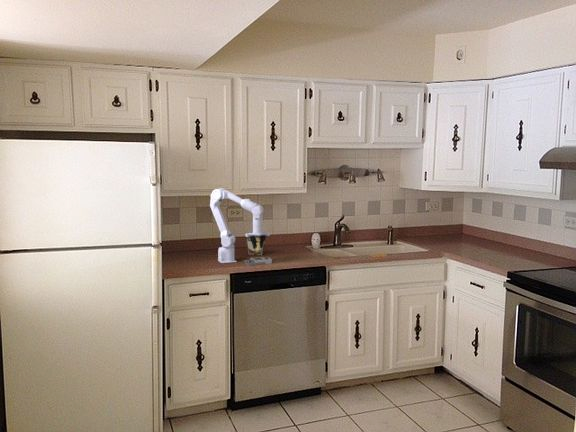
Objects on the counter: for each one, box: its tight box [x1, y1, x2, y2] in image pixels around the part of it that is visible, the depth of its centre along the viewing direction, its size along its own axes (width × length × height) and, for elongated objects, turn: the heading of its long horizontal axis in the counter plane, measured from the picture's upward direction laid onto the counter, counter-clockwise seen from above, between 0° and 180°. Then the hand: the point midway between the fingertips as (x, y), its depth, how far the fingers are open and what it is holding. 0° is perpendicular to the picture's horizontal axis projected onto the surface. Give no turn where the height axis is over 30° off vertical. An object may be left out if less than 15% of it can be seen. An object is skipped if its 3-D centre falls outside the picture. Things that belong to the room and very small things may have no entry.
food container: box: [246, 237, 266, 256], centre depth 332 cm, size 12×6×10 cm, turn 70°
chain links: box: [243, 256, 273, 266], centre depth 306 cm, size 15×8×3 cm, turn 113°
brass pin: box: [255, 237, 261, 253], centre depth 305 cm, size 4×4×8 cm
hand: (257, 248), depth 305 cm, fingers closed on brass pin, 4 cm apart
